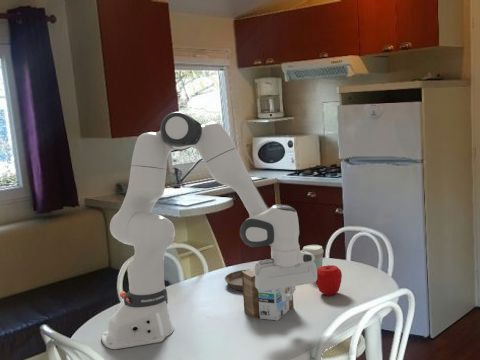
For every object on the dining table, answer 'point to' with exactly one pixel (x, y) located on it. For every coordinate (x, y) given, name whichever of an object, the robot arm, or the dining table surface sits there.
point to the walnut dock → (253, 294)
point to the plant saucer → (235, 280)
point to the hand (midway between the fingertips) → (287, 300)
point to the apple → (328, 279)
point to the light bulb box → (272, 304)
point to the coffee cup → (315, 253)
